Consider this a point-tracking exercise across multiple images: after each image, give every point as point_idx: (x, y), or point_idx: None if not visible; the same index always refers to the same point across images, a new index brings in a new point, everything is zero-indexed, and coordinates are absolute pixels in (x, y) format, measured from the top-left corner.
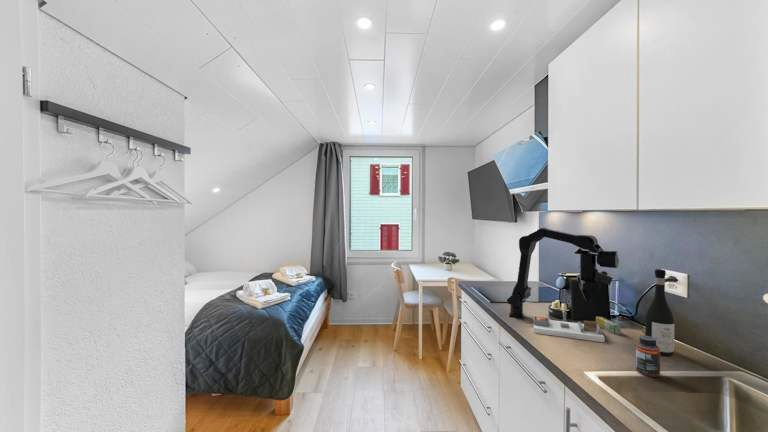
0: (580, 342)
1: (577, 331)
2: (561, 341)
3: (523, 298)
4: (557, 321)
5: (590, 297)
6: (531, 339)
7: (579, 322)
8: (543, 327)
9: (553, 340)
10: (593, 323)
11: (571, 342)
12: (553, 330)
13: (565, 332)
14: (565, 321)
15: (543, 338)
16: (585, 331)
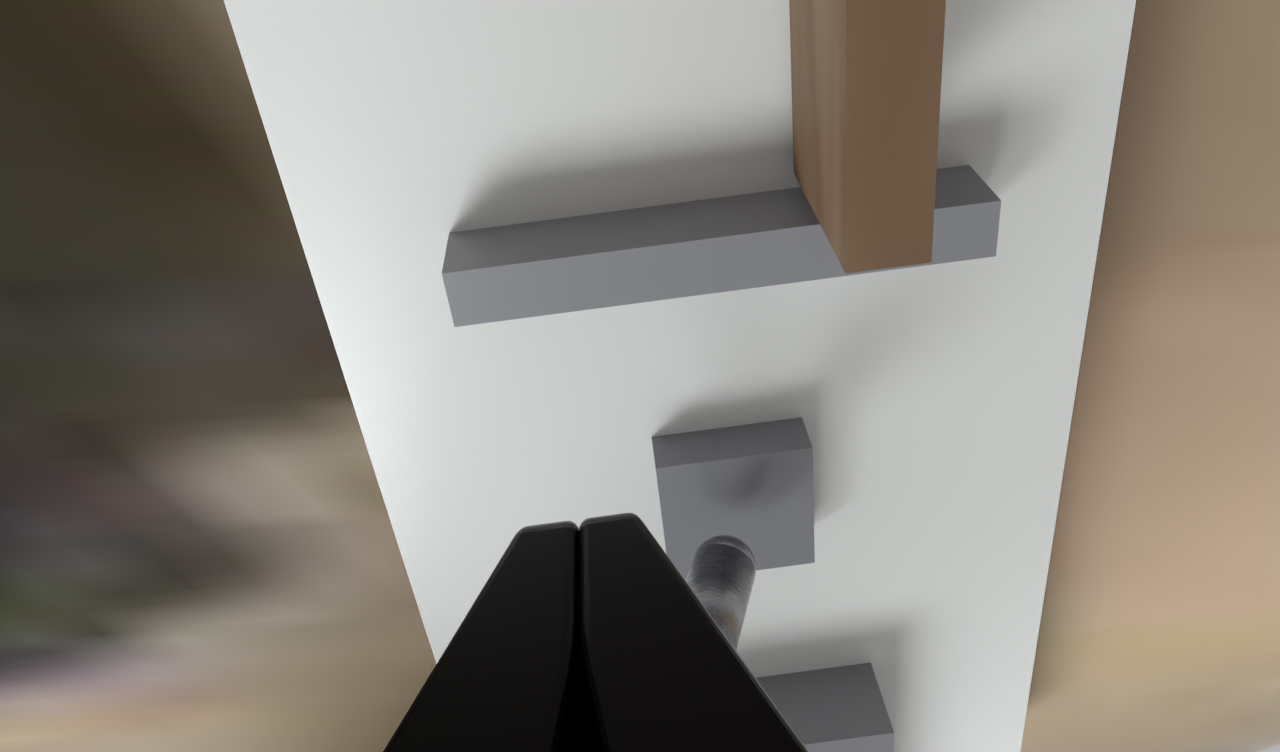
0: (1240, 175)
1: (944, 277)
2: (1258, 431)
3: None
4: (462, 601)
5: (791, 749)
6: (1261, 714)
7: (512, 293)
8: (938, 715)
9: (1238, 520)
10: (940, 18)
11: (1273, 305)
12: (1036, 601)
13: (1063, 449)
14: (748, 550)
15: (1186, 622)
16: None
